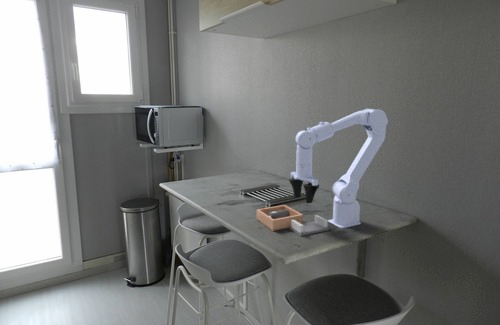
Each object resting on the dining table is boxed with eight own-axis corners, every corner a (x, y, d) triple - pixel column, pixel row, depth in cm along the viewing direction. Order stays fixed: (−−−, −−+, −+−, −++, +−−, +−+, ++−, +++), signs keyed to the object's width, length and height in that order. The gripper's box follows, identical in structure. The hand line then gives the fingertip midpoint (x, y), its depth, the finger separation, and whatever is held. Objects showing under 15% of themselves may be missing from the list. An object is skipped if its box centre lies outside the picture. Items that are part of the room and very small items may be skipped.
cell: (284, 217, 130) (284, 207, 129) (290, 221, 126) (290, 211, 125) (266, 221, 126) (266, 211, 125) (272, 224, 123) (272, 214, 122)
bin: (284, 214, 135) (284, 204, 134) (302, 224, 123) (302, 214, 123) (256, 219, 129) (256, 209, 128) (272, 231, 118) (272, 220, 117)
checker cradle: (316, 223, 125) (317, 214, 124) (328, 229, 119) (329, 220, 118) (289, 229, 120) (289, 219, 119) (300, 236, 114) (300, 226, 113)
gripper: (284, 161, 125) (283, 196, 127) (306, 168, 112) (305, 207, 114) (299, 159, 128) (299, 193, 130) (323, 166, 115) (322, 204, 117)
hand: (303, 199), depth 123 cm, fingers open, 7 cm apart
